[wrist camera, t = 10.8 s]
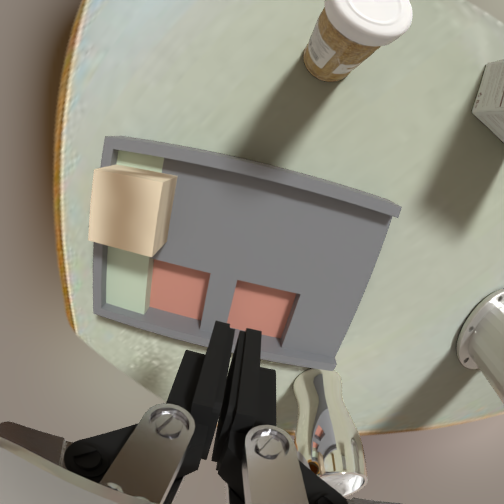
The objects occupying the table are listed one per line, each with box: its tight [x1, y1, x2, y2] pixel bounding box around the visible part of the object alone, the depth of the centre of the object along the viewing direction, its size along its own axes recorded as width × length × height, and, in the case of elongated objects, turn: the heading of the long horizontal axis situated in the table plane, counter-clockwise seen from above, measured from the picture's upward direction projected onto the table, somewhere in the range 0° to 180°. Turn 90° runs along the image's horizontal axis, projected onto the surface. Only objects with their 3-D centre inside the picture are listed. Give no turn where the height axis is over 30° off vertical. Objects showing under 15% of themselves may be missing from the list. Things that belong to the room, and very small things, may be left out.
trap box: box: [93, 136, 402, 371], centre depth 28 cm, size 26×18×3 cm
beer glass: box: [293, 368, 368, 497], centre depth 28 cm, size 7×7×15 cm
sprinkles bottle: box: [303, 0, 413, 82], centre depth 17 cm, size 5×5×13 cm
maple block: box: [88, 164, 178, 257], centre depth 24 cm, size 6×6×4 cm
